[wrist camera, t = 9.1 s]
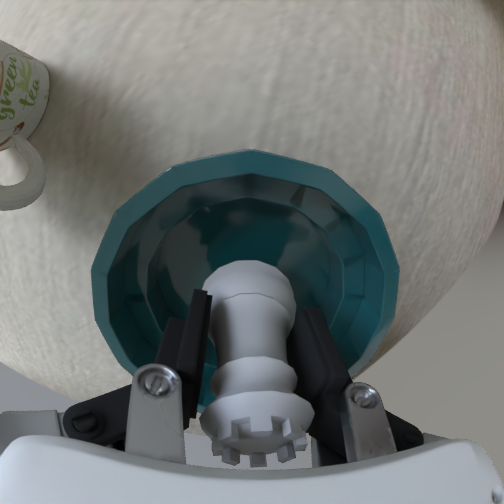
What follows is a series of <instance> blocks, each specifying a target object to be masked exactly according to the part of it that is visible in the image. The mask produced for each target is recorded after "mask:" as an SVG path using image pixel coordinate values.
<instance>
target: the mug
mask: <svg viewBox="0 0 504 504" xmlns="http://www.w3.org/2000/svg"><path fill="white" fill-rule="evenodd" d="M49 89H50V80H49V74H48V71H47V68H46V67H45V65H44V64H43V63H42V62H40V61H39V60H37V59H36V58H34V57H32V56H30V55H28V54H27V53H25V52H23V51H21V50H19V49H17V48H15V47H13V46H12V45H10V44H8V43H6V42H4V41H2V40H0V151H2V150H5V149H8V148H11V147H13V146H16V147H17V148H18V150H19V151H20V153H21V154H22V155H23V157H24V158H25V160H26V161H27V163H28V166H29V172H28V175H27V176H26V178H25V179H24V180H23V181H22V182H20V183H18V184H15V185H11V186H2V185H0V210H2V211H5V210H15V209H20V208H23V207H26V206H28V205H30V204H32V203H33V202H34V201H35V200H36V199H37V198H38V197H39V196H40V195H41V193H42V191H43V189H44V186H45V180H46V178H45V170H44V164H43V160H42V158H41V156H40V154H39V153H38V152H37V150H36V149H35V148H34V147H33V146H32V145H31V144H30V143H29V142H28V141H27V140H26V139H27V138H28V137H29V136H30V135H31V134H32V133H33V131H34V130H35V129H36V127H37V125H38V124H39V122H40V120H41V118H42V116H43V113H44V111H45V108H46V105H47V101H48V96H49Z"/></svg>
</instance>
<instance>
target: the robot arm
mask: <svg viewBox="0 0 504 504" xmlns="http://www.w3.org/2000/svg"><path fill="white" fill-rule="evenodd" d="M207 293H208V291H206V290H200V289H195V288H194V291H193V295H192V299H191V303H190V307H189V311H188V315H187V320H183V319H178V318H173V317H169V318H168V321H167V324H166V327H165V330H164V333H163V336H162V339H161V343H160V346H159V349H158V352H157V355H156V359H155V362H154V364H147V365H144V366H142V367H140V368H138V370H137V371H136V372H135V373H134V376H133V380H132V384H130V385H127V386H125V387H122V388H120V389H117V390H114V391H112V392H109V393H106V394H104V395H101V396H98V397H95V398H92V399H90V400H87V401H84V402H81V403H78V404H75V405H73V406H71V407H70V408H68V410H66V411H65V412H62V413H58V412H57V410H45V411H6V412H3V413H2V414H0V504H504V486H503V483H502V481H501V479H500V477H499V475H498V473H497V471H496V469H495V467H494V465H493V463H492V461H491V460H490V458H489V456H488V455H487V453H486V452H485V450H484V449H483V448H482V446H481V445H480V444H478V443H477V442H475V441H472V440H468V439H448V438H444V437H440V436H436V435H432V434H428V433H423V434H422V433H421V431H419V429H418V428H417V427H415V426H414V425H412V424H410V423H408V422H406V421H404V420H403V419H401V418H399V417H397V416H395V415H393V414H392V413H390V412H388V411H386V410H385V409H384V406H383V403H382V400H381V397H380V395H379V393H378V392H377V391H376V390H375V389H374V388H373V387H371V386H370V385H368V384H366V383H362V382H355V383H353V381H352V379H351V377H350V375H349V372H348V370H347V368H346V366H345V363H344V361H343V359H342V357H341V354H340V352H339V350H338V348H337V346H336V343H335V342H334V340H333V338H332V335H331V333H330V331H329V329H328V327H327V325H326V323H325V320H324V318H323V316H322V314H321V312H320V310H319V308H314V307H304V308H303V309H300V310H299V312H298V314H297V317H296V319H295V322H294V325H293V327H292V330H291V332H290V335H289V338H288V340H287V343H286V355H287V362H288V365H289V366H290V367H292V368H293V369H294V371H295V373H296V375H297V378H298V380H297V385H296V389H295V390H294V392H293V393H294V394H296V395H297V396H299V397H301V398H303V399H304V400H306V401H308V402H310V404H311V406H312V408H313V410H314V412H315V414H314V417H313V420H312V423H311V425H310V427H309V428H308V430H307V431H306V433H309V435H310V436H311V453H312V468H303V469H287V470H240V469H239V470H238V469H223V468H211V467H202V466H193V465H187V464H186V457H185V446H184V445H185V444H184V430H185V429H187V428H189V420H190V418H194V419H196V414H197V408H198V401H199V395H200V389H201V383H202V377H203V371H204V364H205V356H206V347H207V338H208V329H209V321H210V313H211V305H212V297H213V295H207Z"/></svg>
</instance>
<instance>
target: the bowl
mask: <svg viewBox="0 0 504 504" xmlns="http://www.w3.org/2000/svg"><path fill="white" fill-rule="evenodd" d="M245 260H258V261H260V262H263V263H266V264H269V265H271V266H274V267H276V268H277V269H278V270H279V271H280V272H281V273H282V274H283V275H284V276H286V277H287V278H288V280H289V282H290V285H291V287H292V290H293V293H294V300H295V302H296V312H295V319H296V317H297V314H298V312H299V310H300V309H303V308H304V307H314V308H319V310H320V312H321V314H322V316H323V318H324V320H325V323H326V325H327V327H328V329H329V331H330V333H331V335H332V338H333V340H334V342H335V343H336V346H337V348H338V350H339V352H340V354H341V357H342V359H343V361H344V363H345V366H346V368H347V370H348V372H349V375H350V377H351V378H352V377H353V376H354V375H356V374H357V373H358V372H359V371H360V370H361V369H362V368H363V367H364V366H366V365H367V364H368V363H369V362H370V361H371V359H372V357H373V356H374V354H375V352H376V351H377V349H378V347H379V346H380V344H381V342H382V340H383V338H384V337H385V335H386V333H387V331H388V329H389V327H390V326H391V324H392V322H393V320H394V316H395V309H396V301H397V293H398V283H399V272H400V270H399V264H398V261H397V258H396V255H395V252H394V249H393V247H392V244H391V241H390V238H389V236H388V233H387V230H386V228H385V225H384V223H383V220H382V217H381V216H380V214H379V213H378V212H377V211H376V210H375V209H374V208H373V207H372V206H371V205H370V204H369V203H368V202H367V201H366V200H365V199H364V198H363V197H361V196H360V195H359V194H358V193H357V192H356V191H355V190H354V189H353V188H351V187H350V186H349V185H348V184H347V183H346V182H345V181H343V180H342V179H341V178H340V177H339V176H338V175H336V174H335V173H334V172H333V171H332V170H329V169H327V168H324V167H321V166H317V165H314V164H310V163H307V162H303V161H299V160H296V159H292V158H288V157H284V156H280V155H276V154H272V153H268V152H263V151H259V150H254V149H242V150H237V151H231V152H226V153H221V154H216V155H211V156H206V157H202V158H197V159H193V160H190V161H186V162H183V163H180V164H177V165H174V166H172V167H170V168H169V169H167V170H166V171H165V172H163V173H162V174H161V175H159V176H158V177H157V178H155V179H154V180H153V181H151V182H150V183H149V184H148V185H146V186H145V187H144V188H143V189H141V190H140V191H139V192H138V193H136V194H135V195H134V196H133V197H132V198H130V199H129V200H128V201H127V202H126V203H124V204H123V205H122V206H121V207H120V208H119V209H118V210H116V212H115V213H114V215H113V217H112V219H111V221H110V224H109V226H108V228H107V230H106V233H105V235H104V237H103V239H102V242H101V244H100V247H99V249H98V252H97V254H96V257H95V259H94V262H93V264H92V268H91V280H92V294H93V306H94V315H95V321H96V323H97V325H98V327H99V329H100V331H101V333H102V335H103V336H104V338H105V340H106V342H107V344H108V346H109V347H110V349H111V351H112V353H113V354H114V356H115V358H116V359H117V361H118V363H119V364H120V365H121V366H122V367H123V368H124V369H125V370H126V371H128V372H129V373H130V374H131V375H132V376H134V373H135V372H136V371H137V370H138V368H140V367H142V366H144V365H147V364H154V362H155V359H156V355H157V352H158V349H159V346H160V343H161V339H162V336H163V333H164V330H165V327H166V324H167V321H168V318H169V317H173V318H178V319H183V320H187V315H188V311H189V307H190V303H191V299H192V295H193V291H194V288H195V289H200V290H202V288H203V285H204V283H205V280H206V279H207V278H209V277H210V276H211V275H212V274H213V273H214V272H215V271H216V270H217V269H218V268H219V267H222V266H225V265H227V264H230V263H232V262H235V261H245ZM294 322H295V320H294ZM291 330H292V329H291ZM291 330H290V332H291ZM288 338H289V336H288ZM288 338H287V339H286V343H287V340H288ZM216 370H217V357H216V349H215V346H214V345H213V343H212V342H211V340H210V339H209V337H208V338H207V347H206V356H205V364H204V371H203V377H202V383H201V389H200V395H199V401H198V408H197V412H199V413H201V414H202V413H203V411H204V409H205V408H206V407H207V406H208V405H209V404H210V403H212V402H213V401H214V400H215V399H216V397H215V396H214V395H213V393H212V392H211V387H210V380H211V378H212V376H213V374H214V372H215V371H216Z"/></svg>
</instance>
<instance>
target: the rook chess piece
mask: <svg viewBox="0 0 504 504" xmlns="http://www.w3.org/2000/svg"><path fill="white" fill-rule="evenodd" d="M202 290H206V291H208V293H207V295H213V297H212V305H211V313H210V321H209V329H208V337H209V339H210V340H211V342H212V343H213V345H214V346H215V349H216V357H217V370H216V371H215V372H214V374H213V376H212V378H211V380H210V387H211V392H212V393H213V395H214V396H215V397H216V399H215V400H214V401H213V402H212V403H210V404H209V405H208V406H207V407H206V408H205V409H204V411H203V413H202V414H201V416H200V418H199V420H200V424H201V428H202V430H203V431H204V432H205V433H206V435H207V436H208V437H209V438H210V439H211V440H212V452H213V455H214V456H219V455H222V462H224V463H227V464H231V465H234V466H235V465H237V464H239V463H240V454H242V455H249V456H250V467H266V466H267V463H266V454H271V453H275V452H277V456H278V461H279V462H281V463H284V462H287V461H289V460H291V459H294V458H296V455H295V451H305V449H306V447H307V444H308V442H307V438H306V431H307V430H308V428H309V427H310V425H311V423H312V420H313V417H314V414H315V412H314V410H313V408H312V406H311V404H310V402H308V401H306V400H304V399H303V398H301V397H299V396H297V395H296V394H294V393H293V392H294V390H295V389H296V385H297V380H298V378H297V375H296V373H295V371H294V369H293V368H292V367H290V366H289V365H288V362H287V355H286V339H287V338H288V336H289V335H290V330H291V329H292V327H293V325H294V320H295V312H296V302H295V300H294V293H293V290H292V287H291V285H290V282H289V280H288V278H287V277H286V276H284V275H283V274H282V273H281V272H280V271H279V270H278V269H277V268H276V267H274V266H271V265H269V264H266V263H263V262H260V261H258V260H245V261H235V262H232V263H230V264H227V265H225V266H222V267H219V268H218V269H217V270H216V271H215V272H214V273H213V274H212V275H211V276H210V277H209V278H207V279H206V280H205V283H204V285H203V288H202ZM294 448H295V450H294Z"/></svg>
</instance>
